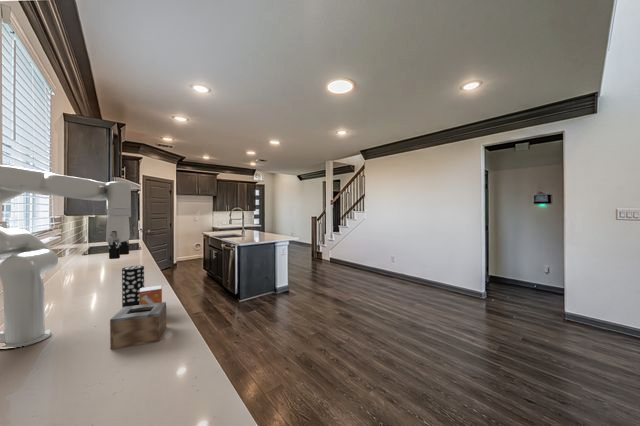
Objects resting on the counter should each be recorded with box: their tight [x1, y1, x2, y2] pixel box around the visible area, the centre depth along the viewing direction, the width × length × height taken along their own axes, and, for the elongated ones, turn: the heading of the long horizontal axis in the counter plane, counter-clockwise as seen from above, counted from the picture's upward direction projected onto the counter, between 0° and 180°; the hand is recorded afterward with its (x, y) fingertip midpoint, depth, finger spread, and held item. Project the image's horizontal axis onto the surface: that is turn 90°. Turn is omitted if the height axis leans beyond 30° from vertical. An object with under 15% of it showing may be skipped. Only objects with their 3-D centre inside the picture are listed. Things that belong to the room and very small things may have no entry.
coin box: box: [109, 301, 167, 350], centre depth 92 cm, size 14×12×10 cm
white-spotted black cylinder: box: [121, 265, 145, 309], centre depth 117 cm, size 8×8×20 cm
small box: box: [139, 285, 163, 305], centre depth 109 cm, size 8×6×13 cm
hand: (119, 256), depth 100 cm, fingers open, 9 cm apart
